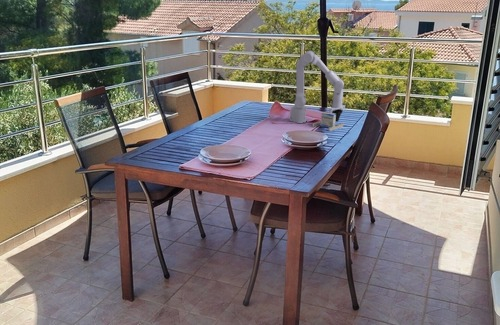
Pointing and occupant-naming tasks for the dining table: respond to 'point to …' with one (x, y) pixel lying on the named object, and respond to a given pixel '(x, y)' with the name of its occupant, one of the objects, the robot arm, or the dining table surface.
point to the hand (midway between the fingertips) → (336, 121)
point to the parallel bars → (329, 127)
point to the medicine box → (328, 119)
